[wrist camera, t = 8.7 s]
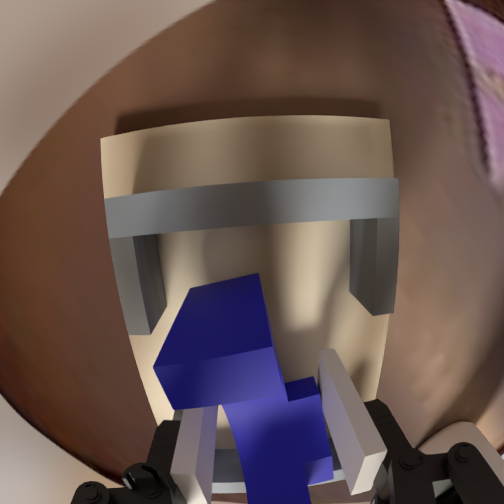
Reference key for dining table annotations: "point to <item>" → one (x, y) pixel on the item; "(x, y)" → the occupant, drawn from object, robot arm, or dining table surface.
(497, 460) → the alcohol
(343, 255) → the board
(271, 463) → the cable clip
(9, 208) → the dining table surface
